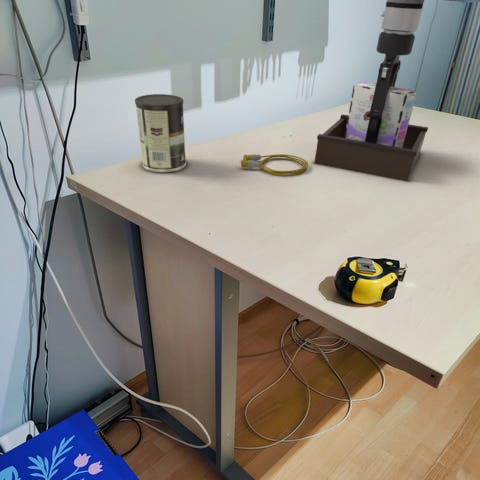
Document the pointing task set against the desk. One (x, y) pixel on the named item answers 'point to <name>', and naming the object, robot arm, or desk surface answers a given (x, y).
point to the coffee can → (161, 132)
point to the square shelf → (369, 152)
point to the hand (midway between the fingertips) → (372, 141)
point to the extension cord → (251, 160)
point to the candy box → (392, 116)
